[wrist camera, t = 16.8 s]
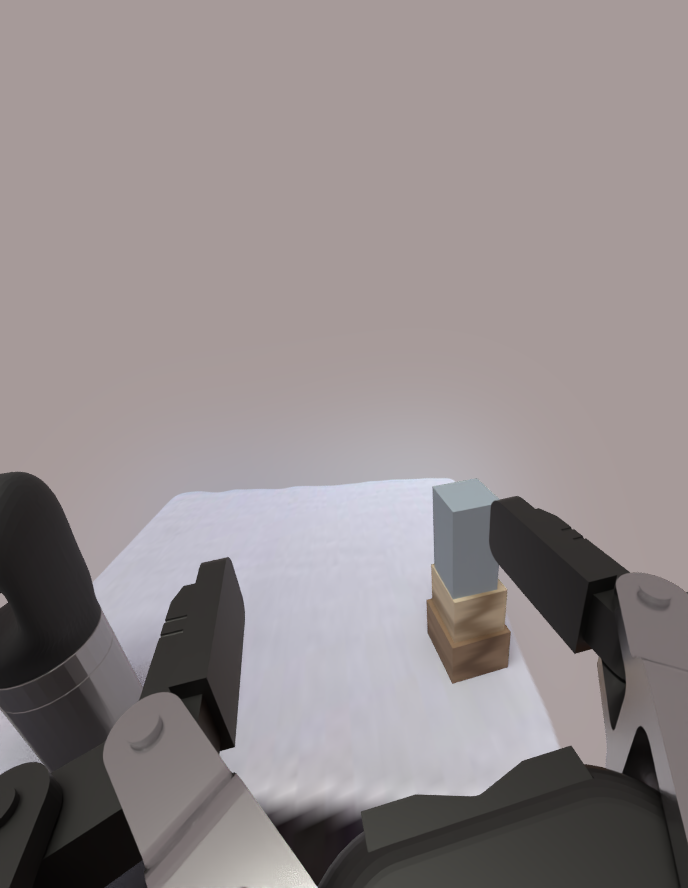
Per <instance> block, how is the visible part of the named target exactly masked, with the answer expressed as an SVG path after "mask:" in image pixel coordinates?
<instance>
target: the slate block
mask: <svg viewBox="0 0 688 888" xmlns="http://www.w3.org/2000/svg"><path fill="white" fill-rule="evenodd" d="M496 500H500V499H499V498H498V497H497V496H496V495H495V494H493V493H492V492H491V491H490V490H489V489H488V488H487V487H486V486H485V485H484V484H483V483H482V482H480V481H479V480H478V479H477V478H475V479H470V480H465V481H459V482H454V483H449V484H444V485H438V486H433V525H434V567H435V569H436V571H437V572H438V574H439V576H440V578H441V580H442V581H443V583H444V585H445V587H446V588H447V590H448V592H449V594H450V595H451V597H452V599H457V598H462V597H466V596H471V595H475V594H480V593H484V592H489V591H493V590H497V585H498V569H499V564H498V563H497V562H496V560H495V559H494V557H493V555H492V553H491V550H490V546H489V530H490V510H491V504H492V502H493V501H496Z"/></svg>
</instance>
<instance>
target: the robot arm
mask: <svg viewBox="0 0 688 888" xmlns="http://www.w3.org/2000/svg"><path fill="white" fill-rule="evenodd" d="M489 546H490V550H491V553H492V555H493V557H494V559H495V560H496V562H497V563H498V564H499V565H500V566H501V568H502V569H503V570H504V571H505V572H506V573H507V575H508V576H509V577H510V578H511V579H512V580H513V582H514V583H515V584H516V585H517V586H518V588H519V589H520V590H521V591H522V592H523V594H525V596H526V597H527V598H528V599H529V601H530V602H531V603H532V604H533V605H534V606H535V608H536V609H537V610H538V611H539V612H540V614H542V616H543V617H544V618H545V619H546V620H547V622H548V623H549V624H550V625H551V626H552V627H553V629H554V630H555V631H556V632H557V633H558V635H559V636H560V637H561V638H562V639H563V640H564V642H565V643H566V644H567V645H568V646H569V647H570V649H571V650H572V651H573V652H574V653H575V654H576V653H579V652H583V651H586V650H590V649H593V650H594V651H595V652H596V654H597V655H598V656H599V658H598V662H597V667H598V676H599V683H600V691H601V699H602V707H603V715H604V723H605V731H606V740H607V755H606V768H603V767H598V766H593V765H587V764H583V762H582V761H581V760H580V758H579V756H578V755H577V753H576V752H575V750H574V749H573V748H572V746H568V747H565V748H562V749H559V750H556V751H553V752H549V753H546V754H543V755H540V756H537V757H533V758H530V759H527V760H524V761H522V762H521V763H519V764H518V765H517V766H516V767H514V768H513V769H512V770H511V771H509V772H508V773H507V774H506V775H504V776H503V777H502V778H501V779H499V780H498V781H497V782H496V783H494V784H493V785H492V786H491V787H489V788H488V789H487V790H486V791H485V792H483V793H482V794H480V795H478V796H443V795H413V796H409V797H406V798H403V799H400V800H397V801H394V802H390V803H387V804H384V805H381V806H378V807H374V808H371V809H368V810H365V811H362V812H361V816H362V821H363V827H364V832H362V833H361V834H360V835H359V836H357V837H356V838H355V839H354V840H352V841H351V842H350V843H349V844H348V845H347V846H346V847H345V848H344V849H343V851H342V852H341V853H340V854H339V855H338V856H337V858H336V859H335V860H334V862H333V863H332V864H331V866H330V867H329V868H328V870H327V872H326V874H325V875H324V877H323V879H322V880H321V882H320V884H319V885H318V887H317V886H316V885H315V883H314V882H313V880H312V879H311V877H310V876H309V875H308V873H307V872H306V870H305V869H304V868H303V866H302V865H301V863H300V862H299V860H298V859H297V858H296V856H295V855H294V853H293V852H292V850H291V849H290V848H289V846H288V845H287V843H286V842H285V841H284V839H283V838H282V836H281V835H280V833H279V832H278V831H277V829H276V828H275V826H274V825H273V824H272V822H271V821H270V819H269V818H268V816H267V815H266V814H265V812H264V811H263V809H262V808H261V806H260V805H259V804H258V802H257V801H256V799H255V798H254V797H253V795H252V794H251V792H250V791H249V789H248V788H247V787H246V785H245V784H244V782H243V781H242V780H241V779H240V777H239V776H238V775H237V774H236V773H235V772H234V773H232V772H231V771H230V770H229V769H228V767H227V766H226V764H225V763H224V761H223V760H222V759H221V757H220V756H219V753H220V751H222V750H226V749H229V748H233V747H235V738H236V725H237V713H238V700H239V687H240V675H241V662H242V650H243V637H244V624H245V609H244V602H243V597H242V594H241V591H240V587H239V584H238V581H237V577H236V574H235V571H234V568H233V564H232V561H231V559H230V558H229V557H227V558H222V559H218V560H213V561H208V562H204V563H201V565H200V568H199V572H198V575H197V579H196V583H195V584H191V585H186V586H183V587H182V589H181V590H180V591H179V593H178V594H177V595H176V596H175V598H174V599H173V600H172V602H171V604H170V607H169V610H168V613H167V616H166V619H165V621H166V622H165V623H164V625H163V628H162V631H161V634H160V635H161V638H159V641H158V644H157V647H156V650H155V653H154V656H153V659H152V662H151V665H150V668H149V671H148V674H147V677H146V681H145V684H144V687H142V685H141V683H140V681H139V680H138V678H137V676H136V674H135V672H134V670H133V668H132V666H131V664H130V662H129V660H128V658H127V656H126V655H125V653H124V651H123V649H122V647H121V645H120V643H119V641H118V639H117V637H116V635H115V633H114V632H113V630H112V628H111V626H110V624H109V622H108V620H107V619H106V617H105V615H104V613H103V611H102V609H101V607H100V605H99V603H98V601H97V599H96V597H95V593H94V588H93V584H92V580H91V576H90V573H89V570H88V568H87V565H86V563H85V561H84V559H83V556H82V554H81V552H80V550H79V547H78V545H77V543H76V541H75V538H74V535H73V533H72V530H71V528H70V526H69V523H68V520H67V518H66V516H65V514H64V511H63V509H62V507H61V505H60V503H59V501H58V500H57V498H56V496H55V495H54V493H53V492H52V491H51V489H50V488H49V487H48V486H47V485H46V484H45V483H44V482H43V481H42V480H40V479H39V478H37V477H36V476H34V475H32V474H29V473H25V472H10V473H4V474H0V593H2V594H3V595H4V596H5V598H6V599H7V601H8V603H7V604H6V605H4V606H3V607H1V608H0V710H1V711H2V712H3V714H4V715H5V716H6V717H7V719H8V720H9V721H10V722H11V724H12V725H13V726H14V727H15V729H16V730H17V731H18V733H19V734H20V735H21V736H22V738H23V739H24V740H25V741H26V743H27V744H28V745H29V746H30V748H31V749H32V750H33V752H34V753H35V754H36V755H37V757H38V758H39V759H40V760H41V762H42V763H43V764H44V765H45V766H44V765H43V764H41V763H37V762H29V763H25V764H21V765H19V766H16V767H14V768H12V769H10V770H8V771H6V772H4V773H3V774H1V775H0V888H104V887H105V886H107V885H108V884H110V883H111V882H112V881H114V880H115V879H117V878H118V877H119V876H121V875H122V874H124V873H125V872H126V871H128V870H129V869H130V868H132V867H133V866H135V865H136V864H137V863H139V862H140V861H142V860H143V861H144V864H145V868H146V870H145V871H144V876H145V880H146V884H147V887H148V888H688V592H685V591H684V590H683V589H681V588H680V587H679V586H677V585H675V584H674V583H672V582H670V581H668V580H665V579H663V578H660V577H658V576H655V575H650V574H645V573H630V572H629V571H627V570H626V569H625V568H624V567H622V566H621V565H620V564H618V563H617V562H616V561H614V560H613V559H612V558H611V557H609V556H608V555H607V554H605V553H604V552H603V551H602V550H600V549H599V548H597V547H596V546H595V545H594V544H592V543H591V542H590V541H589V540H587V539H584V538H583V536H582V535H581V534H579V533H578V532H577V531H576V530H572V529H571V527H570V526H569V525H568V524H566V523H565V522H564V521H562V520H561V519H560V518H559V517H557V516H555V515H553V514H551V513H548V512H546V511H544V510H542V509H539V508H538V509H534V508H533V507H532V506H531V505H530V504H529V503H527V502H526V501H525V500H524V499H522V498H521V497H519V496H515V497H510V498H505V499H500V500H496V501H493V502H492V504H491V510H490V530H489Z"/></svg>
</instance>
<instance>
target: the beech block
mask: <svg viewBox="0 0 688 888" xmlns="http://www.w3.org/2000/svg"><path fill="white" fill-rule="evenodd" d="M431 570H432V602H433V604H434V606H435V608H436V609H437V611H438V613H439V615H440V617H441V619H442V621H443V623H444V625H445V626H446V628H447V630H448V632H449V634H450V636H451V638H452V640H453V642H454V643H457V642H461V641H464V640H468V639H472V638H476V637H480V636H483V635H487V634H491V633H495V632H499V631H502V630H504V626H505V613H506V600H507V589H506V588H505V586H504V585H503V584H502V583H501V582H500V580H499V579H498V585H497V590H493V591H489V592H484V593H480V594H475V595H471V596H466V597H462V598H457V599H452V597H451V595H450V594H449V592H448V590H447V588H446V587H445V585H444V583H443V581H442V580H441V578H440V576H439V574H438V572H437V571H436V569H435V567H434V564H431Z"/></svg>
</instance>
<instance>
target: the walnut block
mask: <svg viewBox="0 0 688 888" xmlns="http://www.w3.org/2000/svg"><path fill="white" fill-rule="evenodd" d="M427 625H428V634H429V636H430V638H431V640H432V643H433V645H434V647H435V649H436V651H437V653H438V655H439V657H440V659H441V661H442V663H443V665H444V667H445V669H446V671H447V673H448V675H449V677H450V680H451V682H452V684H453V683H456V682H460V681H463V680H466V679H470V678H473V677H476V676H480V675H483V674H486V673H490V672H493V671H497V670H500V669H503V668H507V667H508V656H509V645H510V634H511V632H510V630H509V629H508V628H507V626H506V625H505V626H504V630H502V631H499V632H495V633H491V634H487V635H483V636H480V637H476V638H472V639H468V640H464V641H461V642H457V643H454V642H453V640H452V638H451V636H450V634H449V632H448V630H447V628H446V626H445V625H444V623H443V621H442V619H441V617H440V615H439V613H438V611H437V609H436V608H435V606H434V604H433V602H432V599H428V600H427Z"/></svg>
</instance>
